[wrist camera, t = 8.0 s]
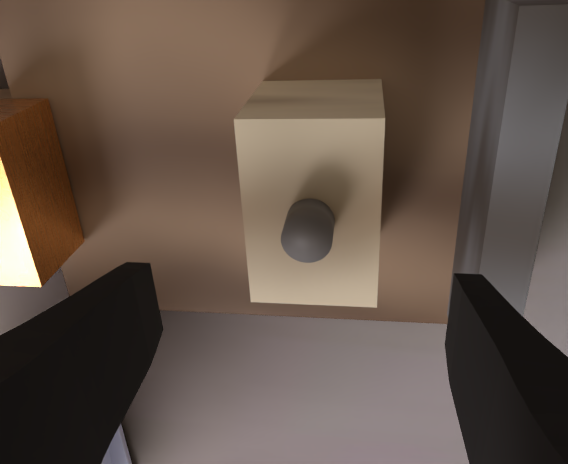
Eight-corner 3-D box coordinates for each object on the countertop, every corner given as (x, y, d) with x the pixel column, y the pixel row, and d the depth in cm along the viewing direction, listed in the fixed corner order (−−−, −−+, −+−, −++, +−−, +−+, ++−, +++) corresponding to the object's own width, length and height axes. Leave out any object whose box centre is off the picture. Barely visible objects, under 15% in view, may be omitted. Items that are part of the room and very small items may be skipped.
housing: (375, 237, 20) (377, 332, 15) (272, 234, 21) (243, 325, 16) (381, 79, 18) (386, 132, 13) (262, 81, 18) (223, 133, 13)
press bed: (477, 303, 23) (505, 399, 18) (-123, 278, 27) (-228, 350, 22) (528, -32, 17) (592, -21, 12) (-258, 3, 21) (-442, 21, 16)
